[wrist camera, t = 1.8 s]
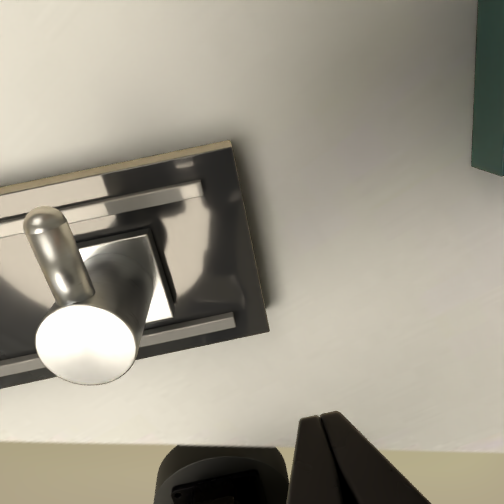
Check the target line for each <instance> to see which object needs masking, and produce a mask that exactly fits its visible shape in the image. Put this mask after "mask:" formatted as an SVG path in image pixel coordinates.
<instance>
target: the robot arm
mask: <svg viewBox="0 0 504 504" xmlns="http://www.w3.org/2000/svg"><path fill="white" fill-rule="evenodd" d="M171 498H172V500H173V503H174V504H267V500H266V497H265V493H264V489H263V485H262V481H261V478H260V474H259V471H257V470H255V469H251V470H246V471H242V472H237V473H232V474H228V475H223V476H218V477H214V478H209V479H205V480H200V481H195V482H191V483H186V484H181V485H177V486H174V487H173V488H172V489H171ZM286 504H431V503H430V502H429V501H428V500H427V499H426V498H425V497H424V496H423V495H422V494H421V493H420V492H419V491H418V490H417V489H416V488H415V487H414V486H413V485H412V484H411V483H410V482H409V481H408V480H407V479H406V478H405V477H404V476H403V475H402V474H401V473H400V472H399V471H398V470H397V469H396V468H395V467H394V466H393V465H392V464H391V463H390V462H389V461H388V460H387V459H386V458H385V457H384V456H383V455H382V454H381V453H380V452H379V451H378V450H377V449H376V448H375V447H374V446H373V445H372V444H371V443H370V442H369V441H368V440H367V439H366V438H365V437H364V436H363V435H362V434H361V433H360V432H359V431H358V430H357V429H356V428H355V427H354V426H353V425H352V424H351V423H350V422H349V421H348V420H347V419H346V418H345V417H344V416H343V415H342V414H341V413H340V412H338V411H333V412H328V413H324V414H321V415H320V417H319V416H317V415H314V416H309V417H305V418H301V419H300V421H299V427H298V433H297V439H296V445H295V452H294V458H293V464H292V471H291V477H290V483H289V489H288V496H287V502H286Z"/></svg>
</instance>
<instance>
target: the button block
mask: <svg viewBox="0 0 504 504" xmlns="http://www.w3.org/2000/svg"><path fill="white" fill-rule="evenodd" d="M471 166H472V167H475V168H478V169H481V170H484V171H487V172H490V173H493V174H495V175H498V176H504V0H478V15H477V39H476V64H475V88H474V112H473V136H472V161H471Z"/></svg>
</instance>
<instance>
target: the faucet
mask: <svg viewBox="0 0 504 504" xmlns="http://www.w3.org/2000/svg"><path fill="white" fill-rule="evenodd" d="M23 229H24V232H25V235H26V237H27V239H28V242H29V244H30V246H31V248H32V250H33V253H34V255H35V257H36V259H37V261H38V263H39V266H40V268H41V270H42V272H43V274H44V277H45V279H46V281H47V283H48V285H49V288H50V290H51V292H52V294H53V296H54V299H55V303H54V304H53V305H52V307H51V308H50V310H49V311H48V313H47V314H46V315H45V317H44V318H43V320H42V321H41V323H40V324H39V326H38V328H37V330H36V334H35V347H36V351H37V354H38V356H39V358H40V360H41V362H42V363H43V364H44V365H45V367H46V368H47V369H48V370H49V371H51V372H52V373H53V374H55V375H56V376H58V377H60V378H62V379H64V380H66V381H69V382H72V383H76V384H81V385H100V384H105V383H109V382H111V381H114V380H116V379H118V378H120V377H121V376H122V375H124V374H125V373H126V372H127V371H128V370H129V369H130V368H131V366H132V365H133V363H134V361H135V359H136V356H137V352H138V349H139V345H140V341H141V338H142V334H143V330H144V327H145V323H149V322H154V321H158V320H163V319H168V318H172V317H174V311H175V306H174V303H173V300H172V297H171V293H170V290H169V287H168V284H167V281H166V277H165V274H164V271H163V268H162V265H161V261H160V258H159V255H158V252H157V249H156V245H155V242H154V239H153V236H152V233H151V229H150V228H147V229H142V230H138V231H133V232H128V233H123V234H118V235H114V236H109V237H104V238H99V239H95V240H90V241H85V242H80V243H76V241H75V239H74V236H73V234H72V231H71V229H70V226H69V224H68V221H67V219H66V217H65V216H64V215H63V213H62V212H60V211H59V210H57V209H56V208H53V207H49V206H41V207H37V208H35V209H33V210H31V211H30V212H29V213H28V214H27V215H26V217H25V219H24V222H23Z"/></svg>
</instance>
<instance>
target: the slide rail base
mask: <svg viewBox="0 0 504 504" xmlns="http://www.w3.org/2000/svg"><path fill="white" fill-rule="evenodd" d="M41 206H49V207H53V208H56V209H57V210H59V211H60V212H62V213H63V215H64V216H65V217H66V219H67V221H68V224H69V226H70V229H71V231H72V234H73V236H74V239H75V241H76V243H80V242H85V241H90V240H95V239H99V238H104V237H109V236H114V235H118V234H123V233H128V232H133V231H138V230H142V229H147V228H150V229H151V233H152V236H153V239H154V242H155V245H156V249H157V252H158V255H159V258H160V261H161V265H162V268H163V271H164V274H165V277H166V281H167V284H168V287H169V290H170V293H171V297H172V300H173V303H174V306H175V311H174V317H172V318H168V319H163V320H158V321H154V322H149V323H145V327H144V330H143V334H142V338H141V341H140V345H139V349H138V352H137V356H136V359H135V360H138V359H143V358H148V357H152V356H157V355H162V354H167V353H171V352H176V351H181V350H185V349H190V348H195V347H200V346H204V345H209V344H214V343H218V342H223V341H228V340H233V339H237V338H242V337H247V336H252V335H256V334H261V333H266V332H269V331H270V329H269V324H268V320H267V315H266V310H265V305H264V300H263V295H262V290H261V285H260V280H259V275H258V270H257V265H256V261H255V256H254V251H253V246H252V241H251V236H250V231H249V226H248V221H247V216H246V211H245V206H244V201H243V197H242V192H241V187H240V182H239V177H238V172H237V167H236V162H235V157H234V152H233V147H232V144H231V141H230V140H226V141H221V142H216V143H211V144H206V145H202V146H197V147H192V148H187V149H182V150H177V151H173V152H168V153H163V154H158V155H153V156H148V157H144V158H139V159H134V160H129V161H124V162H119V163H115V164H110V165H105V166H100V167H95V168H90V169H86V170H81V171H76V172H71V173H66V174H61V175H57V176H52V177H47V178H42V179H37V180H32V181H27V182H23V183H18V184H13V185H8V186H3V187H0V389H1V388H6V387H11V386H15V385H20V384H25V383H30V382H34V381H39V380H44V379H48V378H53V377H58V376H56V375H55V374H53V373H52V372H51V371H49V370H48V369H47V368H46V367H45V365H44V364H43V363H42V362H41V360H40V358H39V356H38V354H37V351H36V347H35V334H36V330H37V328H38V326H39V324H40V323H41V321H42V320H43V318H44V317H45V315H46V314H47V313H48V311H49V310H50V308H51V307H52V305H53V304H54V303H55V299H54V296H53V294H52V292H51V290H50V288H49V285H48V283H47V281H46V279H45V277H44V274H43V272H42V270H41V268H40V266H39V263H38V261H37V259H36V257H35V255H34V253H33V250H32V248H31V246H30V244H29V242H28V239H27V237H26V235H25V232H24V229H23V222H24V219H25V217H26V215H27V214H28V213H29V212H30V211H31V210H33V209H35V208H37V207H41Z"/></svg>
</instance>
